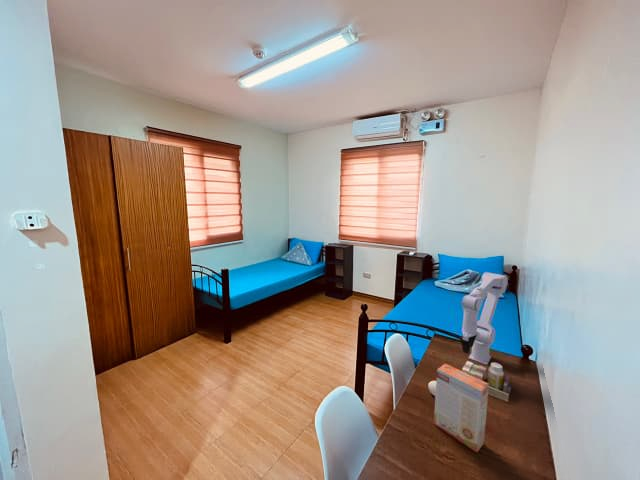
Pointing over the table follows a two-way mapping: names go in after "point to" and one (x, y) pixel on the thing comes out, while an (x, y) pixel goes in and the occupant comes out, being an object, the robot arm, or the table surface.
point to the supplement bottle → (495, 376)
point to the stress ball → (432, 387)
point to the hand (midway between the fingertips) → (467, 349)
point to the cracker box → (461, 406)
